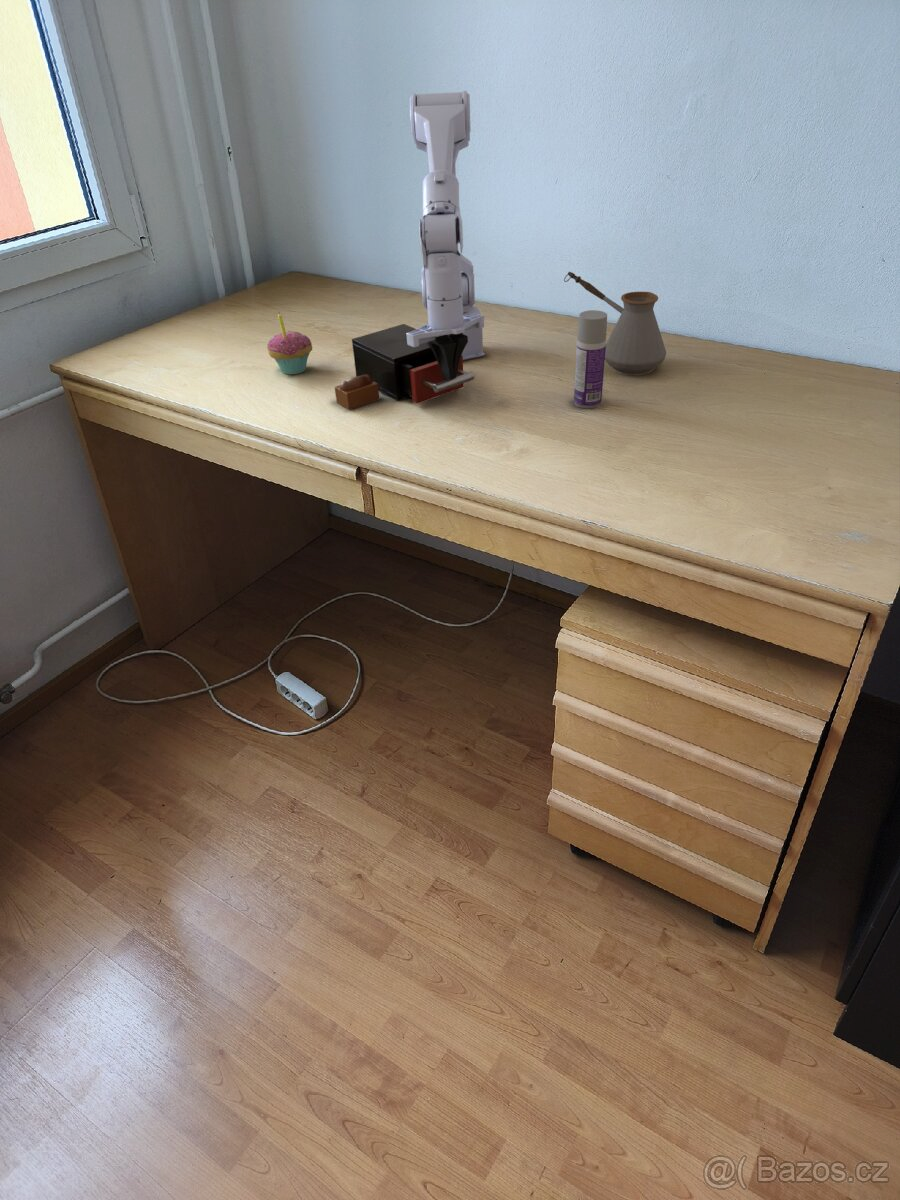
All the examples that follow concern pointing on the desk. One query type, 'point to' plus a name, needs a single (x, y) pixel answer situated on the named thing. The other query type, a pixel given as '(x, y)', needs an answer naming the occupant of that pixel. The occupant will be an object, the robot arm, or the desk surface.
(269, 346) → the cupcake
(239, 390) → the desk surface
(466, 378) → the drawer
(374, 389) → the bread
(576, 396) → the container
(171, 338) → the desk surface
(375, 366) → the black rectangular box
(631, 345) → the coffee pot
